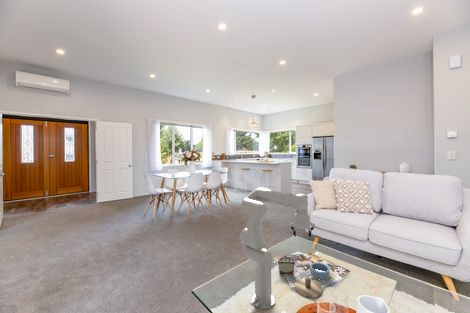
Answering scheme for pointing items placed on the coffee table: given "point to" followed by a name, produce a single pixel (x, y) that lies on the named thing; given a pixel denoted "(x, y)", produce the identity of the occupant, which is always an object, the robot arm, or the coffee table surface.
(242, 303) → the coffee table surface
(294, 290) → the mat
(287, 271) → the food container
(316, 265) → the bowl
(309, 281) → the lid
